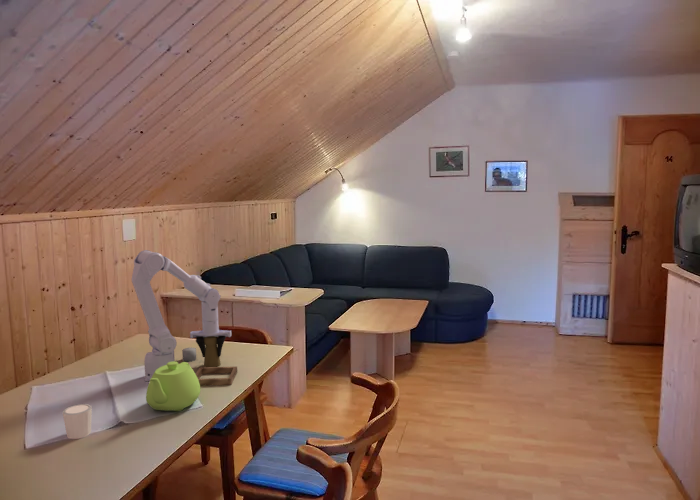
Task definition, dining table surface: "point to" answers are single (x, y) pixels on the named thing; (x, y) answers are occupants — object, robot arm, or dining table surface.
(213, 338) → the cork
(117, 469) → the dining table surface
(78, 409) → the white cylinder
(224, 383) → the walnut collar block
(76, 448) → the dining table surface
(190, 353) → the grey rounded piece
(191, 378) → the teapot
